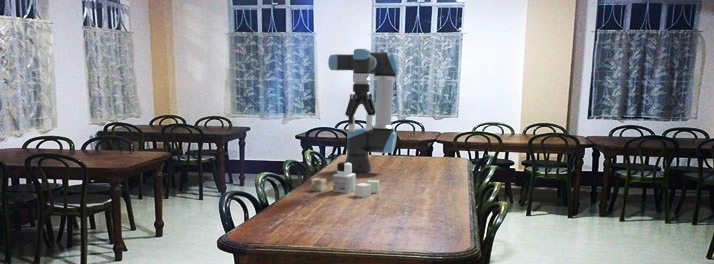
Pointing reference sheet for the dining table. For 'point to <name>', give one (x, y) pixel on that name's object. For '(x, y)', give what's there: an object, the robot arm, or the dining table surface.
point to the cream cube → (362, 190)
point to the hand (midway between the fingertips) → (360, 130)
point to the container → (344, 178)
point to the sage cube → (374, 185)
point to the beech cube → (318, 184)
